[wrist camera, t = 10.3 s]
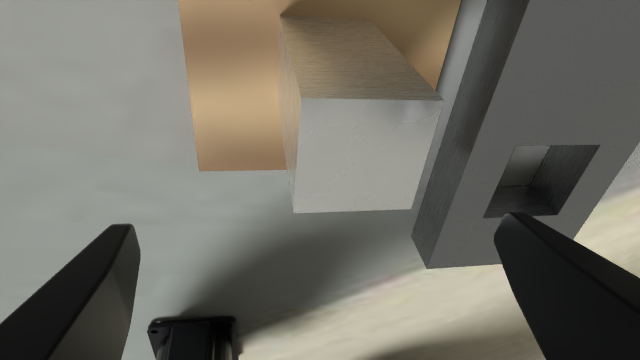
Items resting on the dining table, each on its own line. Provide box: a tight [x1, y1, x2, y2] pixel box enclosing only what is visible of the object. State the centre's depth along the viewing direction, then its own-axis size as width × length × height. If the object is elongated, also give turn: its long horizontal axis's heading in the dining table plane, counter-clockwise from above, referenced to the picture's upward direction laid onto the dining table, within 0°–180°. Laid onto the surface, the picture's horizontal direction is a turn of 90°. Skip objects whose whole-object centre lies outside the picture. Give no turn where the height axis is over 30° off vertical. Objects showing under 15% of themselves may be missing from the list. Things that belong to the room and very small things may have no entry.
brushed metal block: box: [277, 15, 444, 213], centre depth 15 cm, size 4×4×8 cm
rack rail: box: [411, 0, 640, 269], centre depth 21 cm, size 22×10×3 cm, turn 175°
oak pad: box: [178, 0, 461, 171], centre depth 18 cm, size 12×12×1 cm
